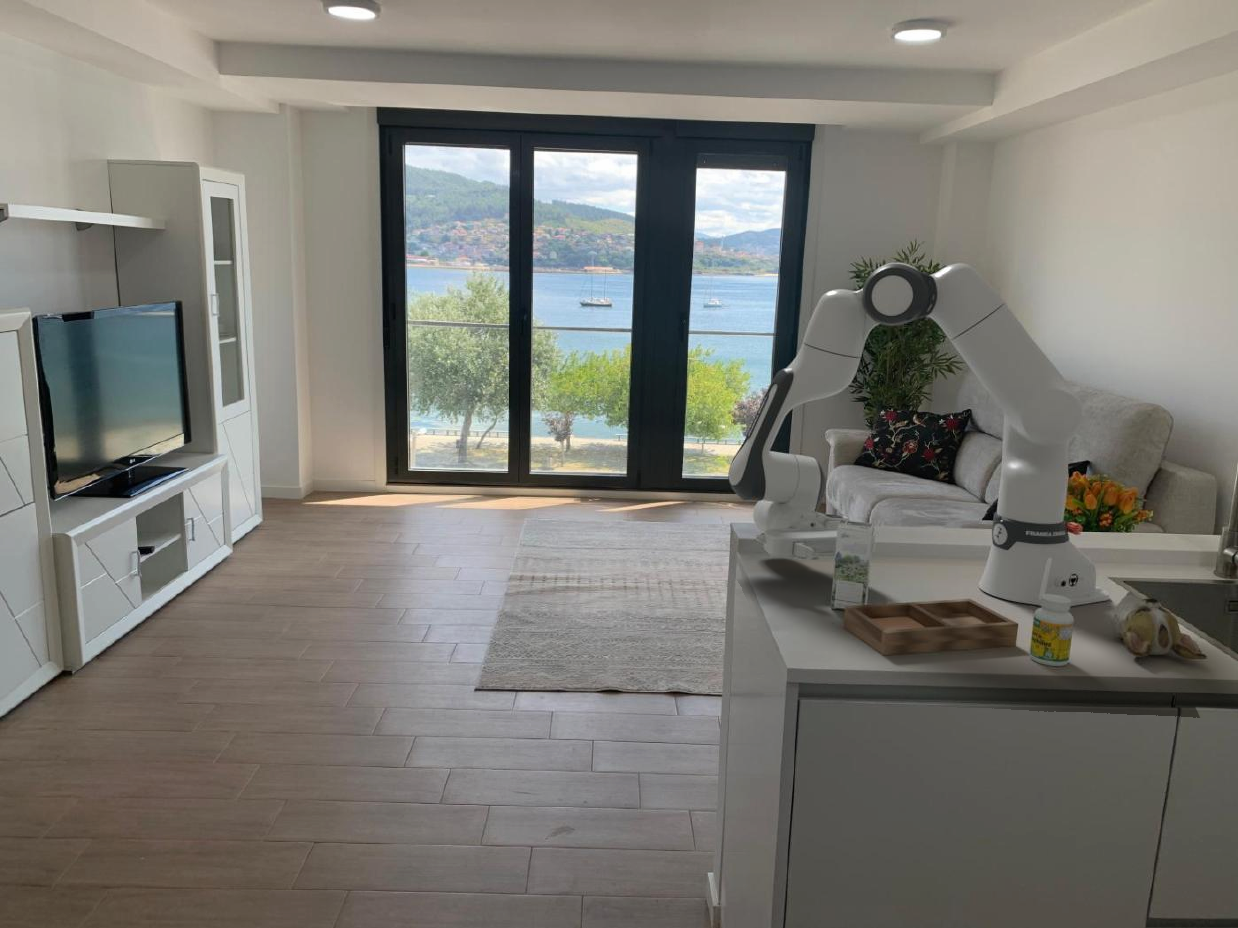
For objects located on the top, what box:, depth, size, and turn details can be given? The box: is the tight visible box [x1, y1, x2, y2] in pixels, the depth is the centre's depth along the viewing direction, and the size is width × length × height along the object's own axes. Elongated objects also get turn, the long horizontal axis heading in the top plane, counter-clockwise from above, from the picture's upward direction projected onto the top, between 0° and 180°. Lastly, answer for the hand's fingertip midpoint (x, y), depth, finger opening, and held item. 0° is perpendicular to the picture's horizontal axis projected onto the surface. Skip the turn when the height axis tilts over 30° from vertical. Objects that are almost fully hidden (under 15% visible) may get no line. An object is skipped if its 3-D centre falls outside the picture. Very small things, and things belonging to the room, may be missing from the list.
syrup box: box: [830, 520, 875, 611], centre depth 161 cm, size 6×6×14 cm
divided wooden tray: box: [843, 598, 1019, 656], centre depth 149 cm, size 23×12×4 cm, turn 106°
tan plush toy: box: [1110, 591, 1208, 660], centre depth 146 cm, size 11×9×15 cm
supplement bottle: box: [1029, 594, 1075, 667], centre depth 141 cm, size 5×5×10 cm
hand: (839, 553), depth 165 cm, fingers open, 8 cm apart
